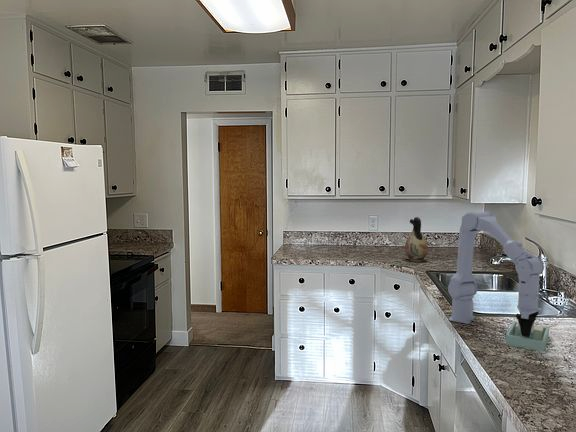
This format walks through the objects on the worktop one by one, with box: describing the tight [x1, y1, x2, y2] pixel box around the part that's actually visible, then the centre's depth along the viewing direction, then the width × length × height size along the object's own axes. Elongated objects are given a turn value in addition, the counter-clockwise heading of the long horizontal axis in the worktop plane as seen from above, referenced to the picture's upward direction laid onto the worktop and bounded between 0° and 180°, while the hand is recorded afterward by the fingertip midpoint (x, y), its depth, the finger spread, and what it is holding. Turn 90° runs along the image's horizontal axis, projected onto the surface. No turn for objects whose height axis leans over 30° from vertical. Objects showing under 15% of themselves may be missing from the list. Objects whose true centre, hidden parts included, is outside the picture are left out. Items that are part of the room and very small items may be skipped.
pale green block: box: [515, 321, 545, 341], centre depth 145 cm, size 5×8×4 cm, turn 54°
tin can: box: [517, 321, 535, 339], centre depth 139 cm, size 5×5×7 cm
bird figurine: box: [404, 216, 429, 263], centre depth 281 cm, size 17×15×30 cm
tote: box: [504, 320, 550, 352], centre depth 142 cm, size 16×11×4 cm
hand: (526, 334), depth 139 cm, fingers closed on tin can, 4 cm apart
